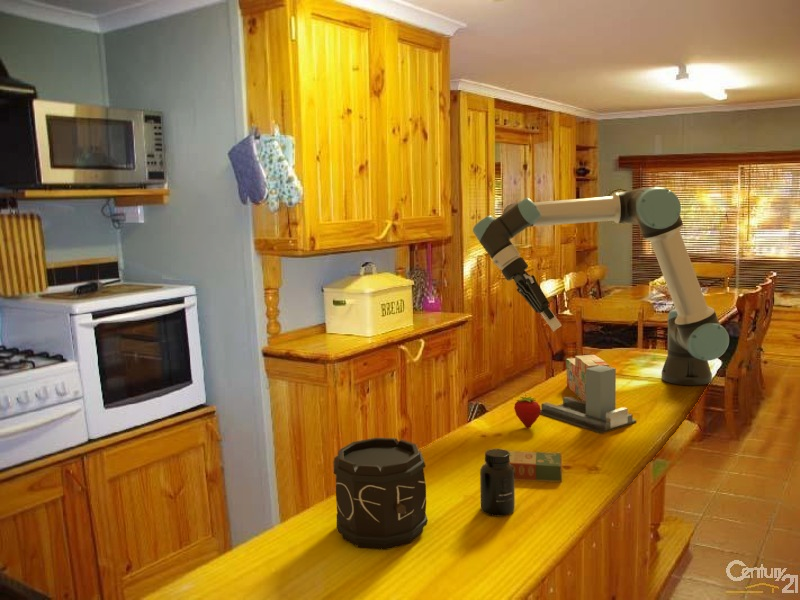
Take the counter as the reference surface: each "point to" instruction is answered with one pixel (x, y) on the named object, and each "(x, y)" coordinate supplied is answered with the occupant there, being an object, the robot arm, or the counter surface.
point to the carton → (536, 466)
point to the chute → (576, 415)
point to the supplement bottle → (497, 483)
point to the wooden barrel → (380, 493)
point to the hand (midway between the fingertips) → (557, 328)
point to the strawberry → (527, 410)
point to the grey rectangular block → (600, 391)
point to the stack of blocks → (581, 372)
